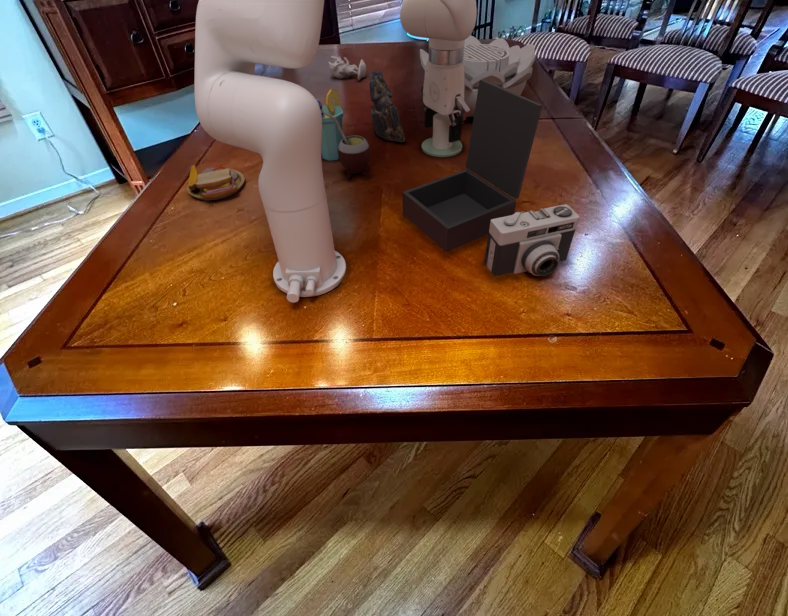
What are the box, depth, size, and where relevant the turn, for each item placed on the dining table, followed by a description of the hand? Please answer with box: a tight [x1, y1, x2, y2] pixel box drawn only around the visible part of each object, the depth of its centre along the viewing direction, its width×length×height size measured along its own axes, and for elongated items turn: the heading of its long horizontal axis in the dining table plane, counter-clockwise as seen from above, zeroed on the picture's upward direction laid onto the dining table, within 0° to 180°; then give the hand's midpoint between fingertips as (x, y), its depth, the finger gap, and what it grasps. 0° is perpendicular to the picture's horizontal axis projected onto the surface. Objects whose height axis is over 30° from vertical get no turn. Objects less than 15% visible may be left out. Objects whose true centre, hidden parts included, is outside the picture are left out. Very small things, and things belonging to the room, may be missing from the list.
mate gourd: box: [322, 111, 371, 182], centre depth 97 cm, size 8×8×15 cm
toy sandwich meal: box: [185, 164, 246, 201], centre depth 98 cm, size 12×14×5 cm
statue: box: [368, 69, 406, 143], centre depth 110 cm, size 6×12×15 cm, turn 39°
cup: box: [316, 88, 344, 161], centre depth 103 cm, size 14×8×15 cm, turn 169°
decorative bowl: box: [419, 34, 537, 118], centre depth 120 cm, size 30×30×15 cm
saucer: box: [421, 136, 463, 158], centre depth 110 cm, size 10×10×1 cm
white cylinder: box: [432, 112, 452, 150], centre depth 108 cm, size 5×5×7 cm
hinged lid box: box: [401, 168, 517, 253], centre depth 86 cm, size 16×15×6 cm
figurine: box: [328, 55, 367, 82], centre depth 145 cm, size 9×6×12 cm
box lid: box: [465, 79, 543, 200], centre depth 81 cm, size 16×15×1 cm
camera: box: [483, 203, 580, 277], centre depth 74 cm, size 14×8×10 cm, turn 106°
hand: (442, 133), depth 108 cm, fingers open, 9 cm apart
